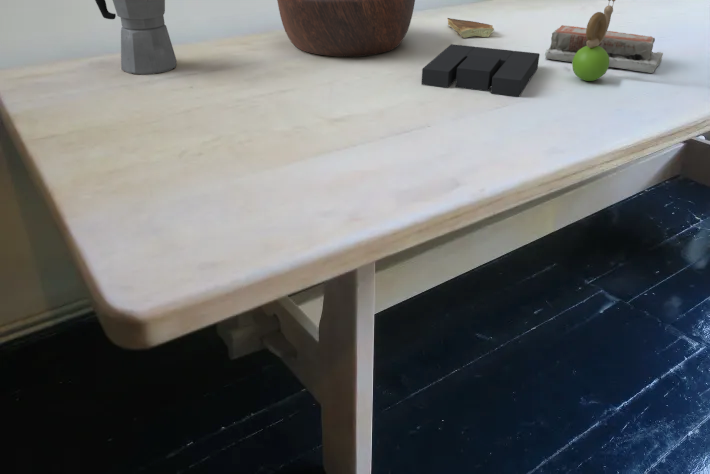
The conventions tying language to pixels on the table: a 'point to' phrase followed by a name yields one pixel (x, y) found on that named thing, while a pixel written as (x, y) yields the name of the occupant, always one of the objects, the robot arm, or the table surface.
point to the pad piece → (477, 72)
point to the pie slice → (470, 28)
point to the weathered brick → (607, 48)
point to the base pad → (512, 65)
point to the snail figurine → (594, 48)
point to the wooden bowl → (346, 25)
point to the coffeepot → (142, 35)
